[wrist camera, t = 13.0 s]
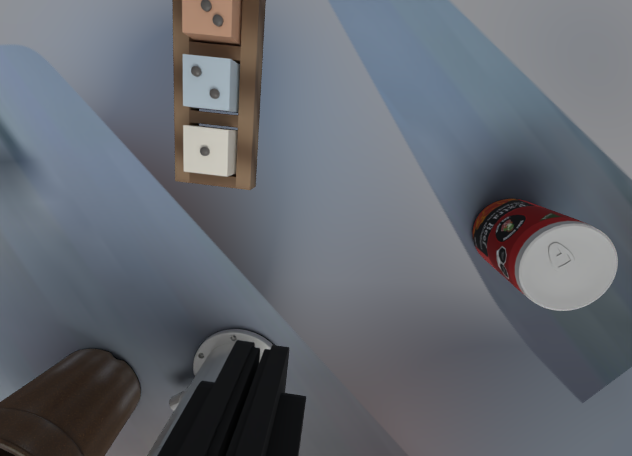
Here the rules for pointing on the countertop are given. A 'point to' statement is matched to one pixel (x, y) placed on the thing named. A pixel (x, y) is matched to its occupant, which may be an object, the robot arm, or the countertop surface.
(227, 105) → the tile two pip
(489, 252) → the canned food
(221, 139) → the tile one pip
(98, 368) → the plant pot
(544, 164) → the countertop surface
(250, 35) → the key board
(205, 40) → the tile three pip
